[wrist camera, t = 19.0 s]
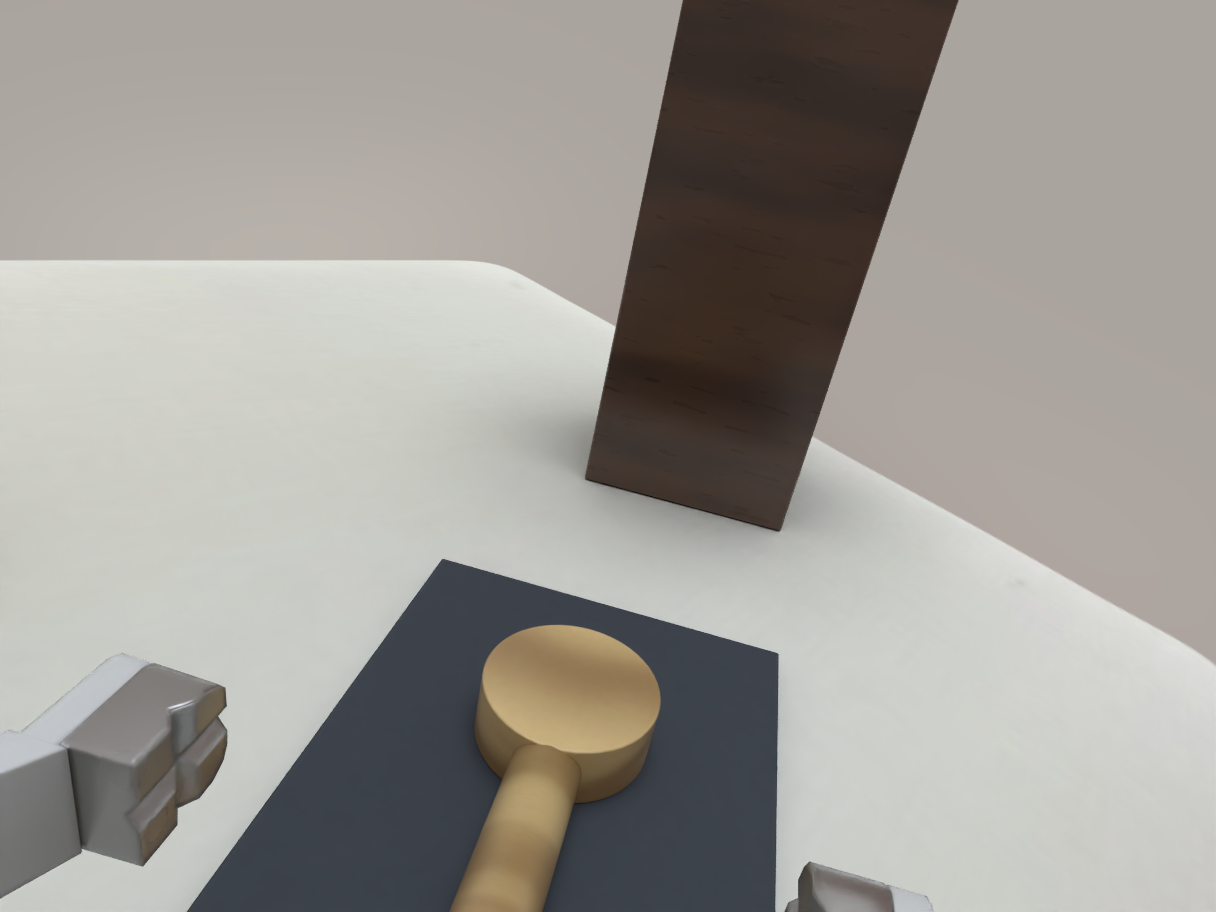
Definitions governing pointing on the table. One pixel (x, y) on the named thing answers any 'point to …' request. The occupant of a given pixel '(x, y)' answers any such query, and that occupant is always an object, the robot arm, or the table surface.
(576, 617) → the mat
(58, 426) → the table surface
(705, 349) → the stand
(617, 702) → the spoon
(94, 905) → the table surface
